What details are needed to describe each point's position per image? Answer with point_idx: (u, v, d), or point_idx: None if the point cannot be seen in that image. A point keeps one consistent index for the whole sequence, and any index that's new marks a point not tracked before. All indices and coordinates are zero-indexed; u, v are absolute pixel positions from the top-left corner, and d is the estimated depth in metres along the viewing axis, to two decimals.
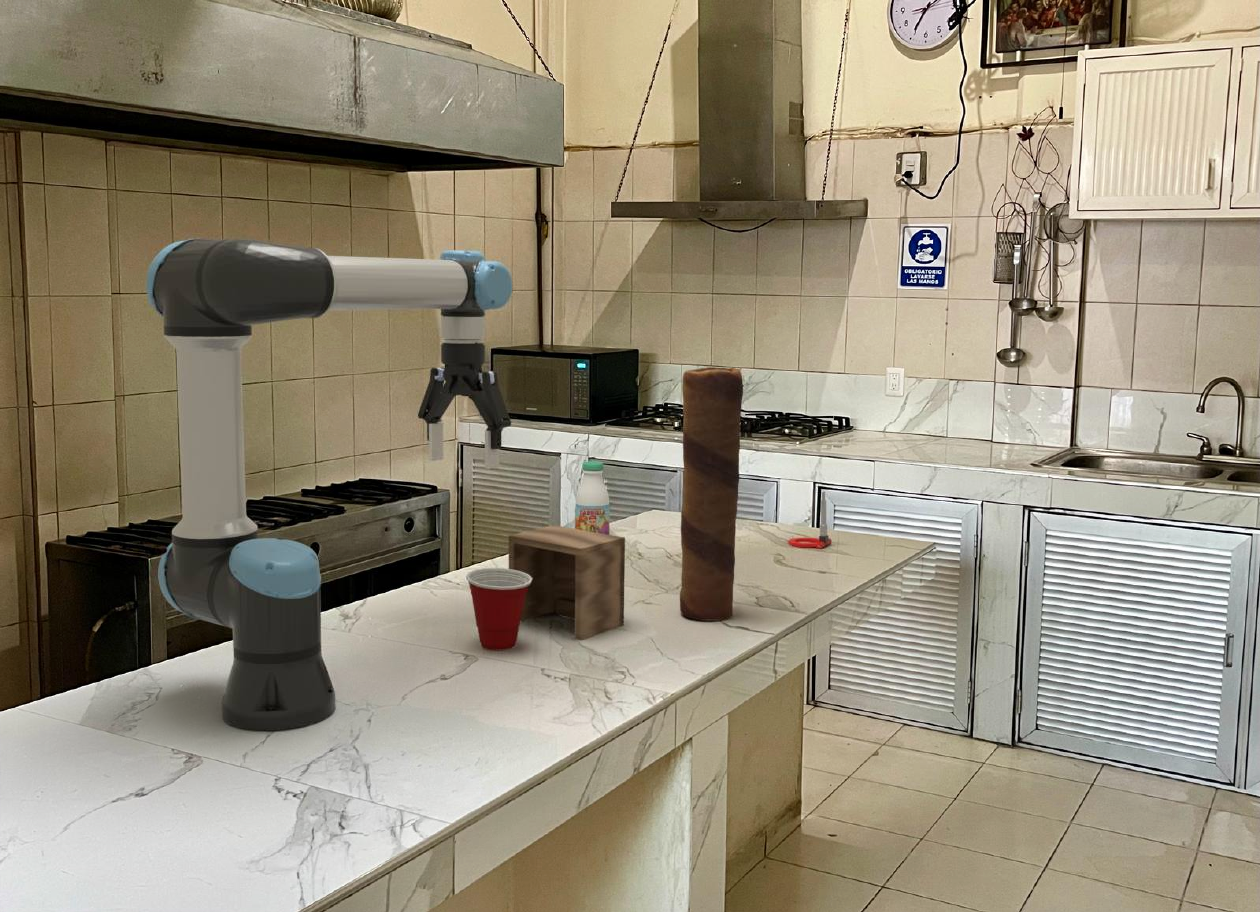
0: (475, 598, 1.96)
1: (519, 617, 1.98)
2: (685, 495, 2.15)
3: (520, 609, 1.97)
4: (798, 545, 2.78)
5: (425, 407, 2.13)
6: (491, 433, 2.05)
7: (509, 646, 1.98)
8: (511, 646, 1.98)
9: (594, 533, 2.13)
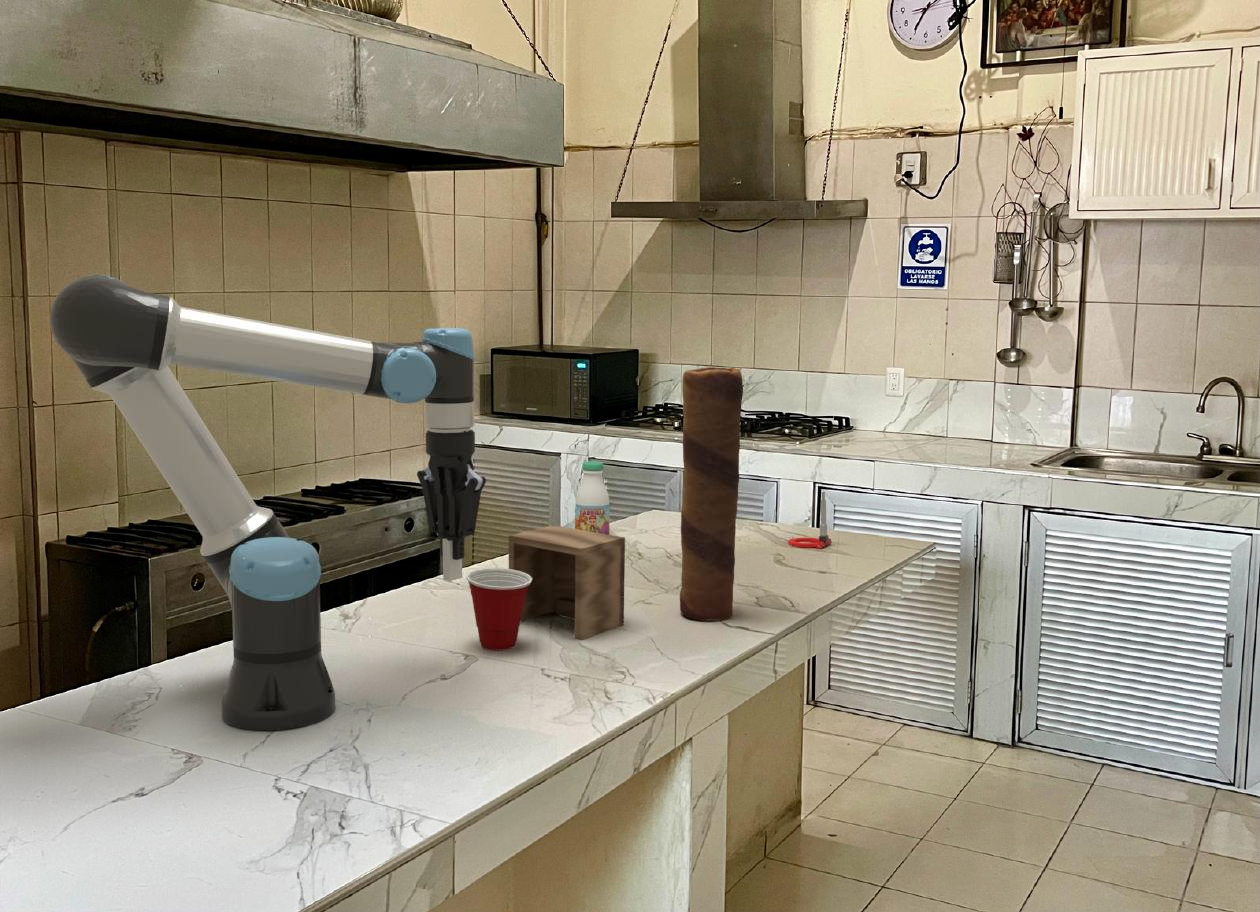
0: (475, 598, 1.96)
1: (519, 617, 1.98)
2: (685, 495, 2.15)
3: (520, 609, 1.97)
4: (798, 545, 2.78)
5: (432, 515, 1.89)
6: (453, 542, 1.87)
7: (509, 646, 1.98)
8: (511, 646, 1.98)
9: (594, 533, 2.13)
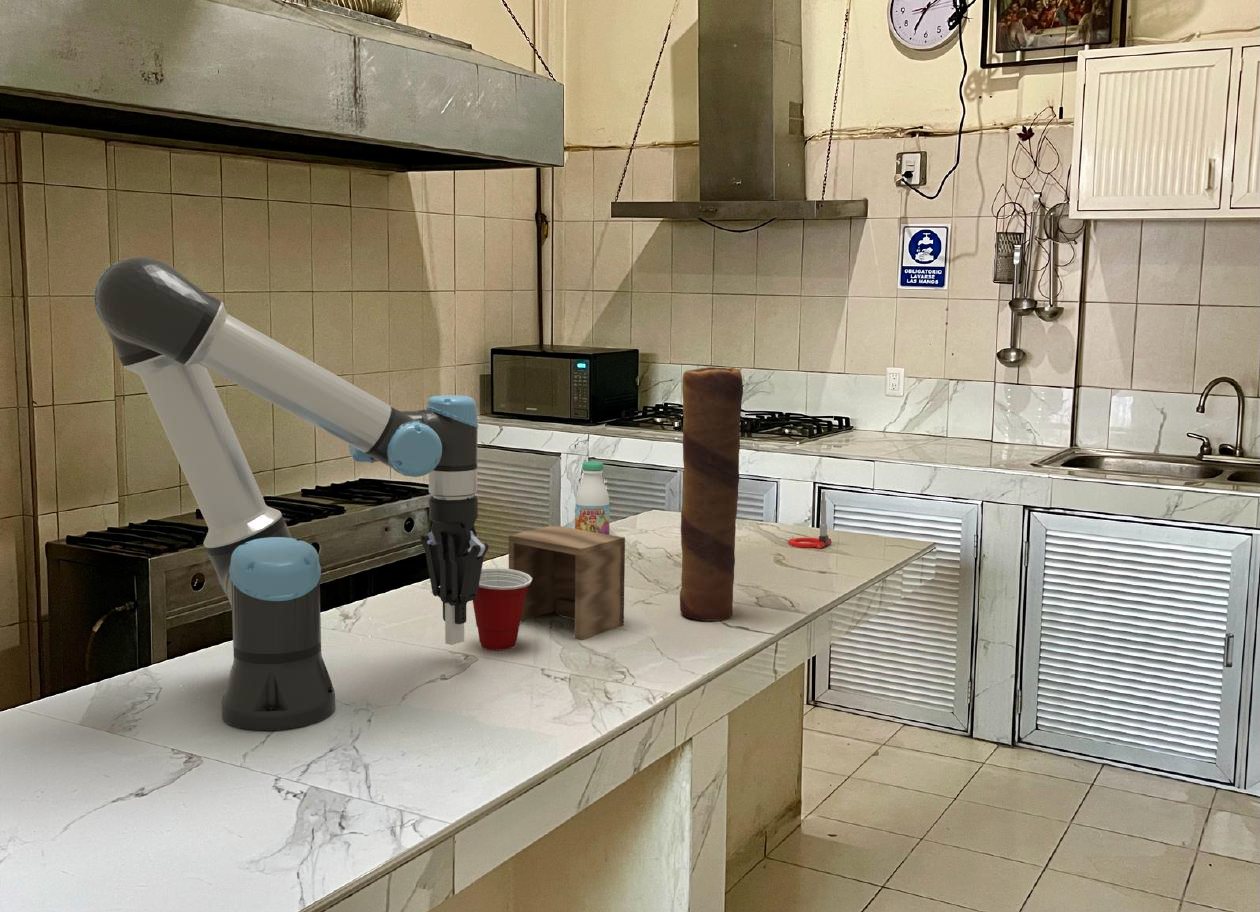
0: None
1: (519, 617, 1.98)
2: (685, 495, 2.15)
3: (520, 609, 1.97)
4: (798, 545, 2.78)
5: (435, 580, 1.90)
6: (455, 607, 1.89)
7: (509, 646, 1.98)
8: (511, 646, 1.98)
9: (594, 533, 2.13)
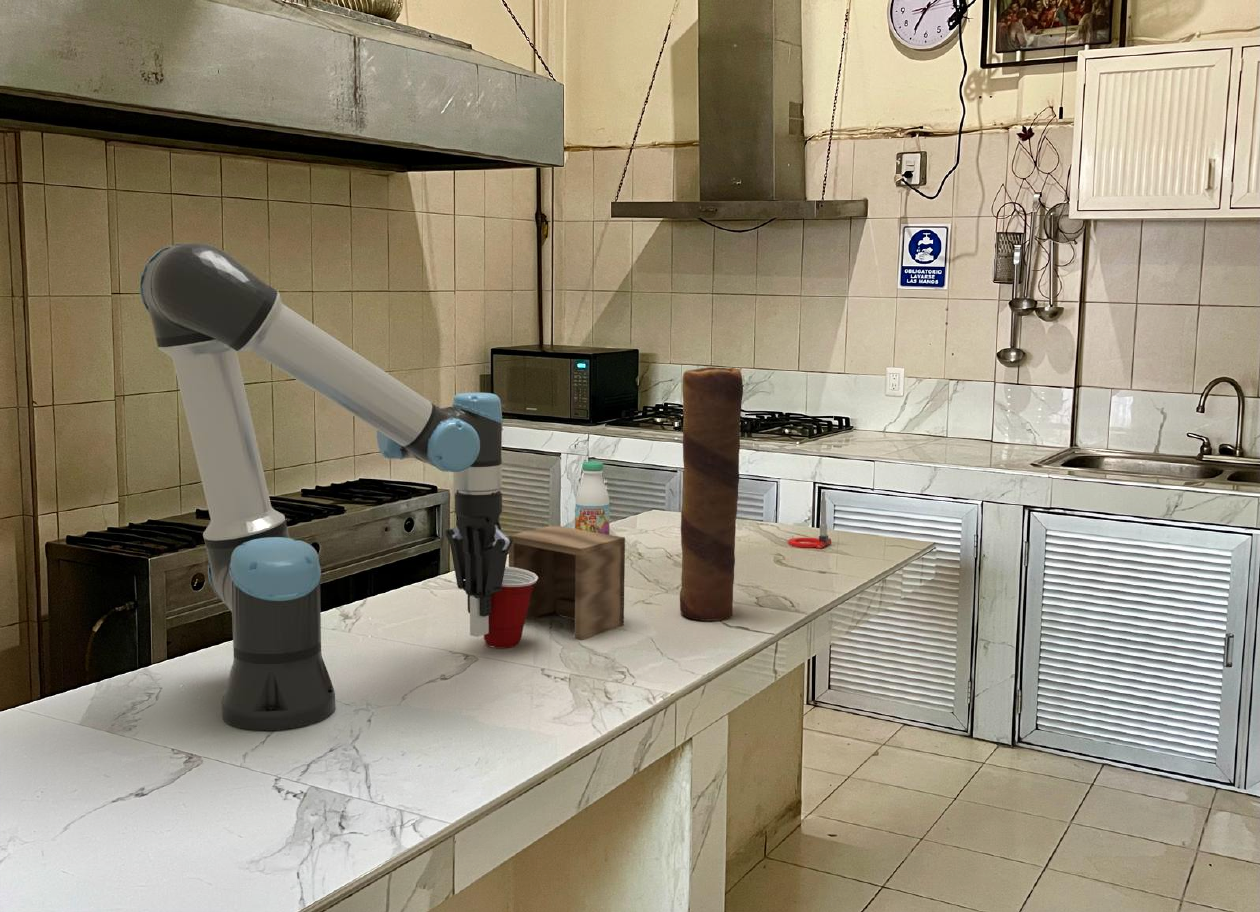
0: None
1: (524, 615, 1.99)
2: (685, 495, 2.15)
3: (525, 607, 1.98)
4: (798, 545, 2.78)
5: (460, 573, 1.95)
6: (480, 599, 1.93)
7: (513, 644, 1.98)
8: (515, 644, 1.99)
9: (594, 533, 2.13)
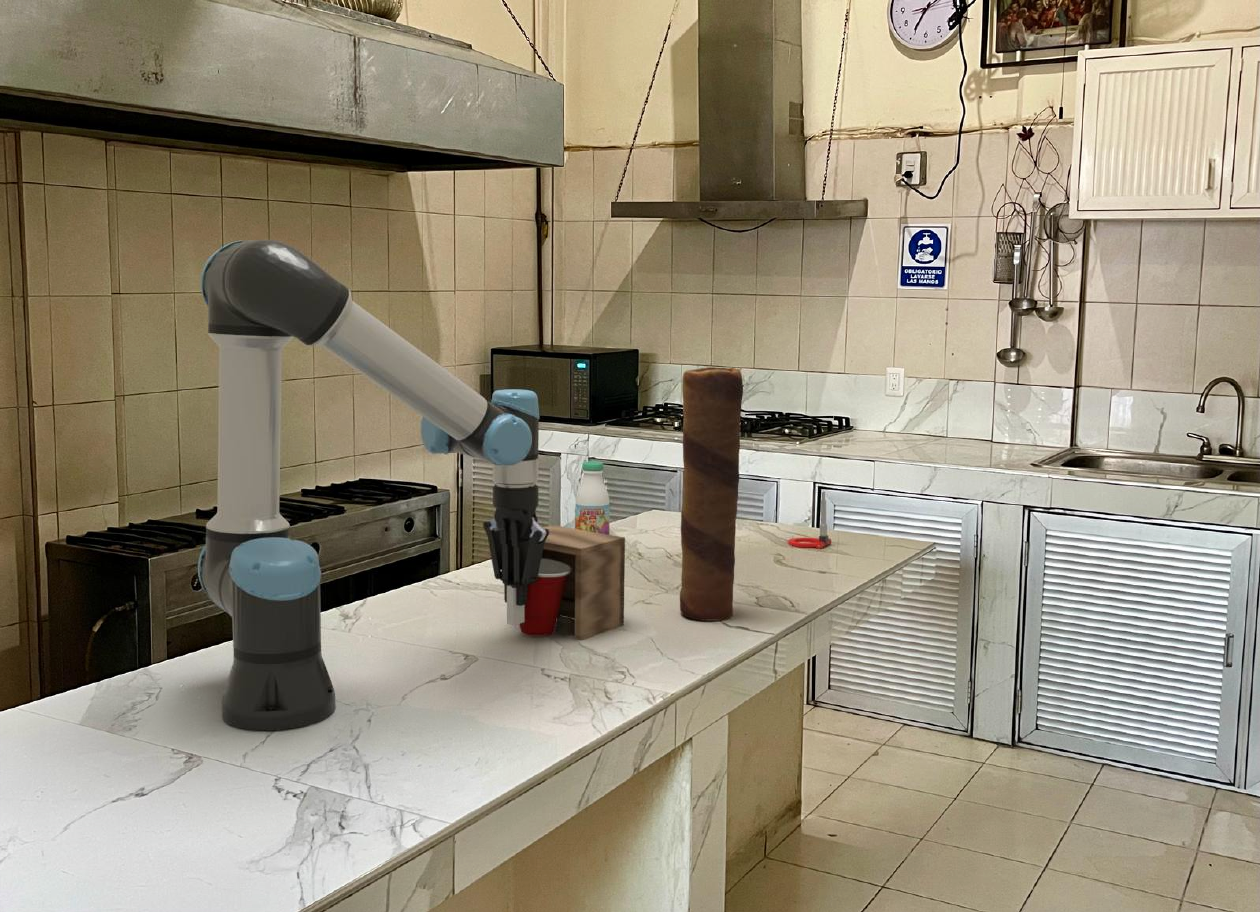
0: None
1: (558, 605, 2.05)
2: (685, 495, 2.15)
3: (559, 597, 2.05)
4: (798, 545, 2.78)
5: (497, 564, 2.02)
6: (516, 589, 2.00)
7: (548, 632, 2.05)
8: (550, 633, 2.06)
9: (594, 533, 2.13)
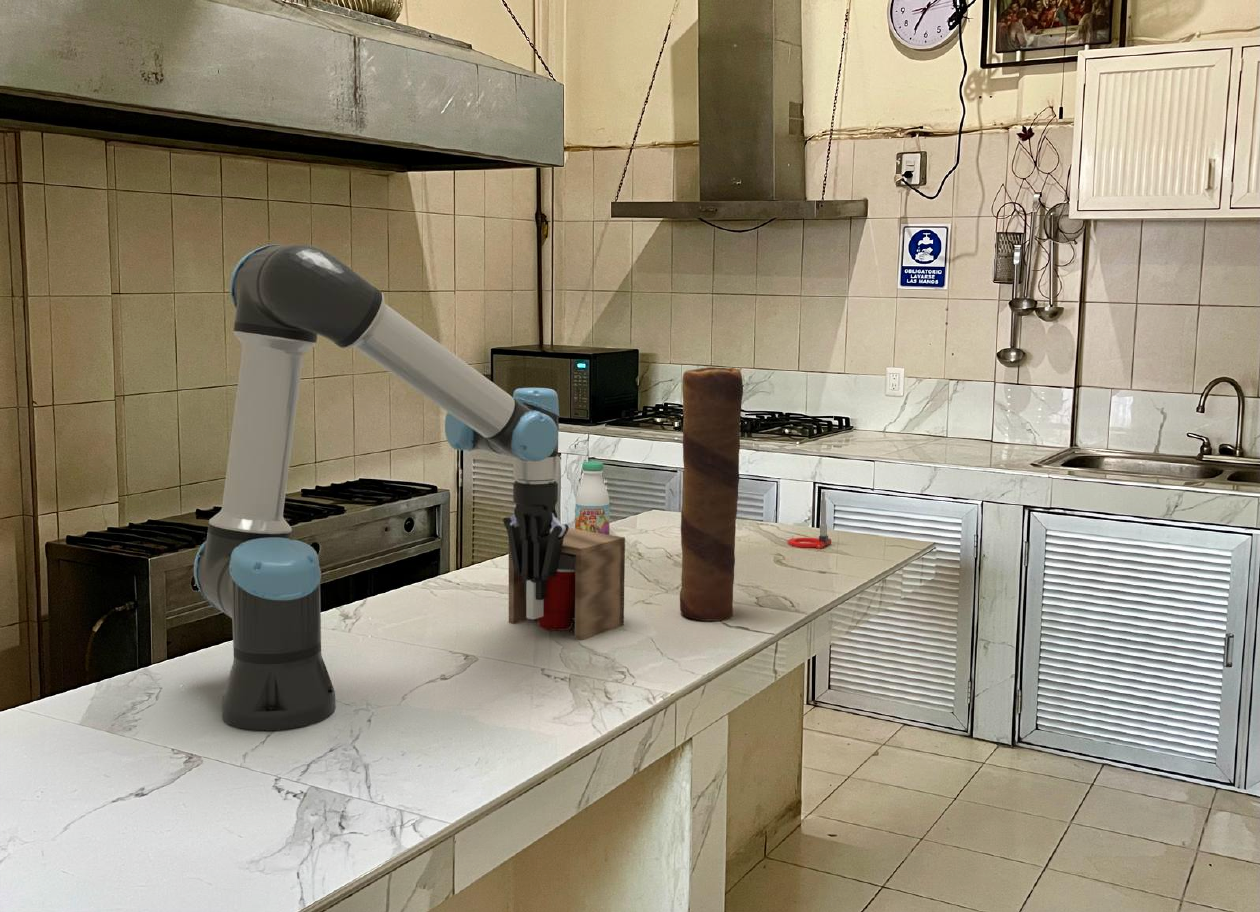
0: None
1: None
2: (685, 495, 2.15)
3: None
4: (798, 545, 2.78)
5: (517, 559, 2.05)
6: (536, 584, 2.04)
7: (566, 627, 2.09)
8: (568, 627, 2.09)
9: (594, 533, 2.13)
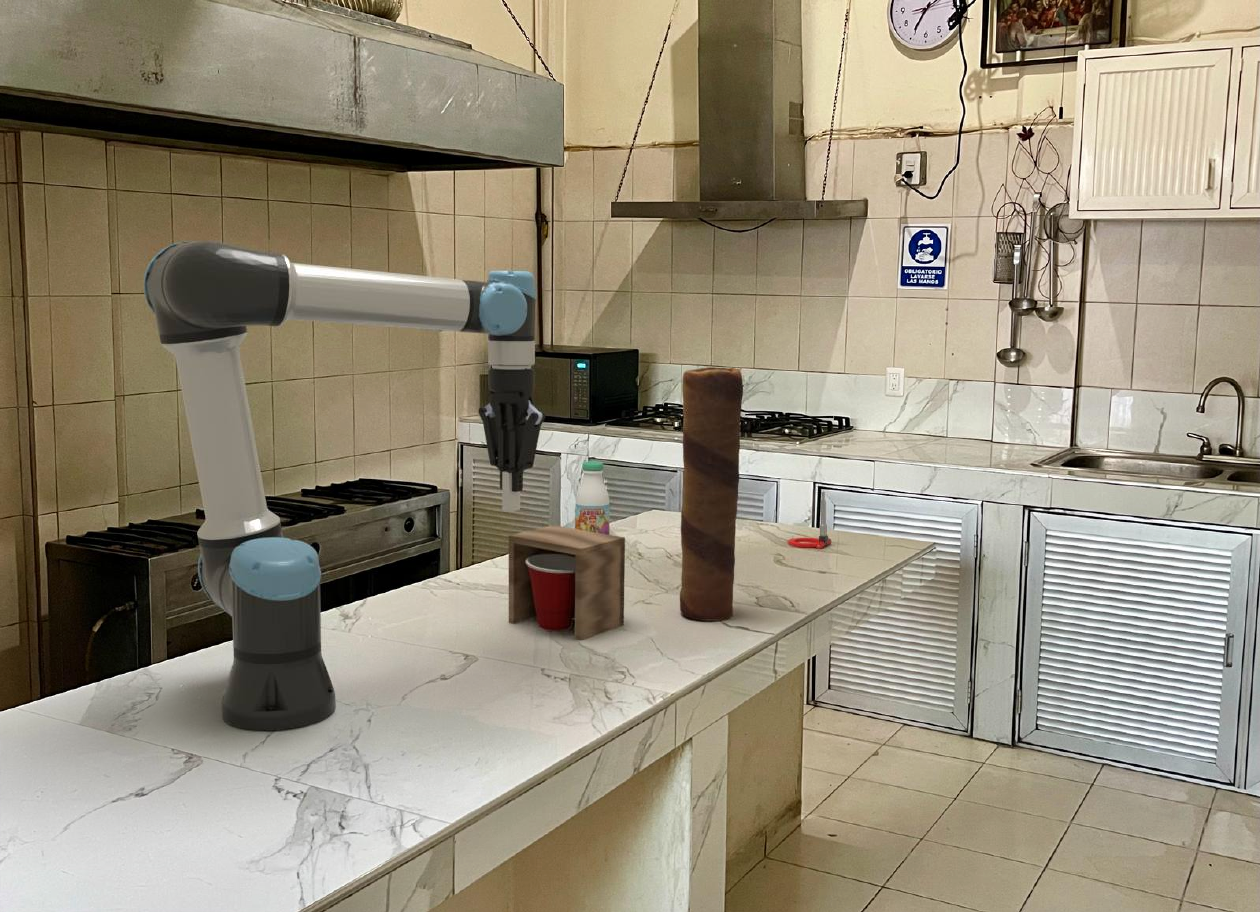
0: (534, 581, 2.07)
1: None
2: (685, 495, 2.15)
3: None
4: (798, 545, 2.78)
5: (492, 450, 1.98)
6: (512, 475, 1.97)
7: (566, 627, 2.09)
8: (568, 627, 2.09)
9: (594, 533, 2.13)
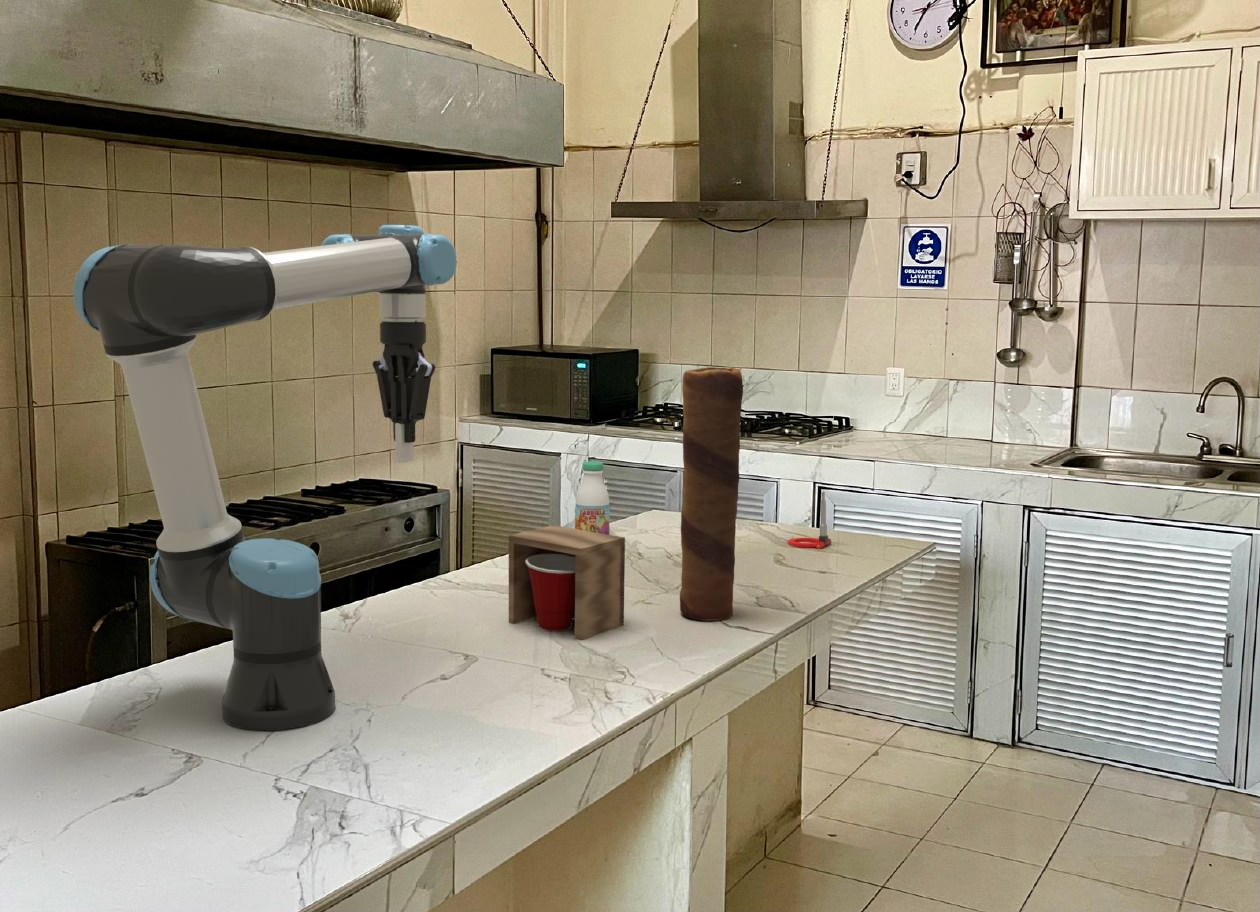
0: (534, 582, 2.07)
1: None
2: (685, 495, 2.15)
3: None
4: (798, 545, 2.78)
5: (386, 402, 2.02)
6: (404, 426, 2.01)
7: (566, 627, 2.09)
8: (568, 627, 2.09)
9: (594, 533, 2.13)
